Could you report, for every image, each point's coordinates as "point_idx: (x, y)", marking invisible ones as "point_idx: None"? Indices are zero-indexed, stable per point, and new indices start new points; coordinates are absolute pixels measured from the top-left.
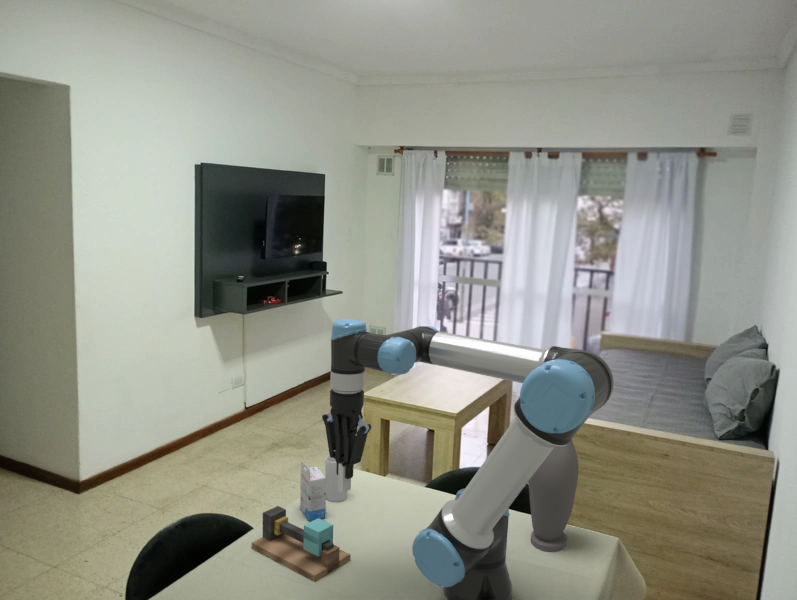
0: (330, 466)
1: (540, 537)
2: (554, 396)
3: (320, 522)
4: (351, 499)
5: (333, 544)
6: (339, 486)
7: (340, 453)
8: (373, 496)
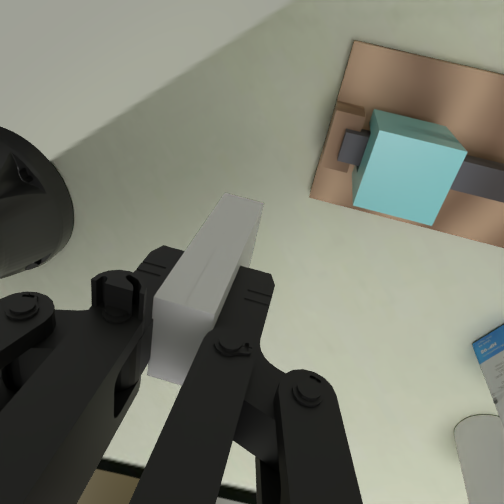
0: None
1: None
2: None
3: (408, 200)
4: (439, 432)
5: (337, 159)
6: (243, 214)
7: (175, 408)
8: (390, 452)
